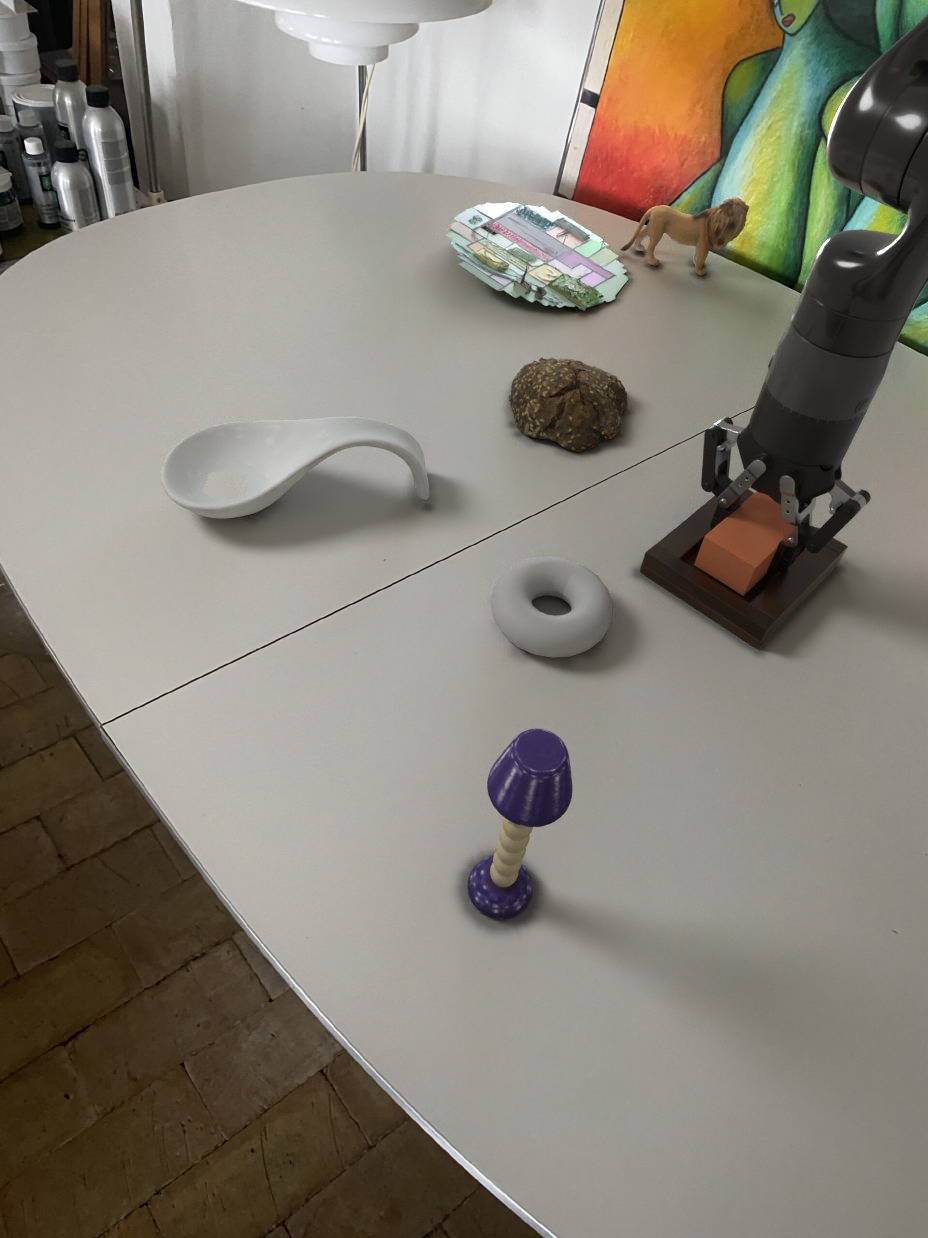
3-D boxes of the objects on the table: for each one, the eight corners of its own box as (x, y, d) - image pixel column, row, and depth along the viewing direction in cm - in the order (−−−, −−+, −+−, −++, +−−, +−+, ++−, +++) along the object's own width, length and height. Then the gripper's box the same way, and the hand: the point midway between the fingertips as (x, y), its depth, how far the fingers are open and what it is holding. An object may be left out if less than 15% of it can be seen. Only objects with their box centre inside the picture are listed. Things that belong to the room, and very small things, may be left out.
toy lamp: (505, 840, 59) (536, 697, 46) (555, 890, 57) (602, 754, 44) (453, 885, 57) (471, 748, 44) (503, 939, 55) (537, 810, 42)
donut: (472, 644, 70) (592, 681, 68) (474, 616, 68) (598, 654, 66) (511, 563, 77) (621, 595, 75) (514, 534, 74) (629, 566, 72)
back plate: (724, 499, 84) (732, 479, 82) (837, 565, 79) (848, 545, 77) (639, 571, 77) (645, 551, 75) (756, 649, 72) (766, 629, 70)
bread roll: (517, 370, 96) (522, 329, 92) (629, 389, 95) (639, 348, 91) (496, 440, 87) (501, 398, 84) (618, 462, 86) (629, 421, 83)
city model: (603, 352, 103) (619, 305, 98) (416, 290, 104) (423, 241, 99) (634, 259, 119) (650, 215, 114) (472, 206, 120) (481, 161, 115)
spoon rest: (163, 544, 75) (145, 480, 70) (172, 457, 83) (156, 393, 77) (435, 527, 79) (438, 465, 73) (420, 445, 86) (421, 383, 81)
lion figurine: (730, 261, 115) (751, 191, 108) (731, 280, 112) (753, 210, 105) (620, 245, 116) (634, 175, 110) (617, 263, 113) (632, 193, 106)
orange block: (748, 516, 80) (760, 487, 77) (796, 544, 77) (810, 515, 75) (693, 565, 75) (704, 535, 72) (743, 596, 73) (756, 567, 70)
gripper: (934, 409, 62) (841, 574, 75) (760, 326, 68) (702, 492, 81) (887, 454, 58) (798, 619, 71) (707, 362, 64) (655, 530, 77)
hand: (747, 551), depth 76 cm, fingers closed on orange block, 5 cm apart
